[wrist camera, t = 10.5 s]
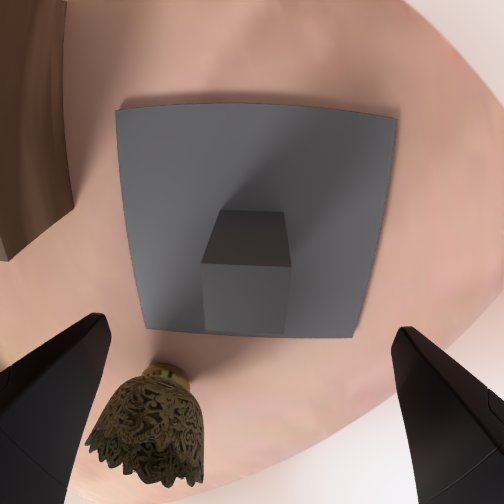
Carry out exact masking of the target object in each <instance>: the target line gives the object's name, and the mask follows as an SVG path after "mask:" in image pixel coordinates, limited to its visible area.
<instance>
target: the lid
mask: <svg viewBox="0 0 504 504" xmlns="http://www.w3.org/2000/svg"><path fill="white" fill-rule="evenodd" d="M115 112H116V133H117V149H118V161H119V172H120V182H121V191H122V200H123V208H124V215H125V222H126V229H127V236H128V242H129V248H130V254H131V260H132V265H133V270H134V276H135V281H136V286H137V291H138V295H139V300H140V305H141V309H142V313H143V318H144V322H145V326H146V328H147V329H156V330H166V331H176V332H187V333H199V334H213V335H228V336H247V337H272V338H352V337H353V334H354V331H355V328H356V324H357V321H358V317H359V314H360V311H361V307H362V303H363V300H364V296H365V292H366V289H367V285H368V281H369V277H370V273H371V269H372V265H373V261H374V256H375V252H376V247H377V243H378V238H379V234H380V229H381V224H382V219H383V214H384V208H385V203H386V197H387V191H388V185H389V179H390V172H391V166H392V158H393V151H394V143H395V134H396V125H397V119H394V118H389V117H384V116H378V115H372V114H365V113H359V112H352V111H344V110H336V109H327V108H318V107H307V106H294V105H279V104H254V103H203V104H179V105H163V106H151V107H140V108H131V109H122V110H115Z"/></svg>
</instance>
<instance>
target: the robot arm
mask: <svg viewBox="0 0 504 504" xmlns="http://www.w3.org/2000/svg"><path fill="white" fill-rule="evenodd" d="M110 343H111V331H110V328H109V325H108V322H107V319H106V316H105V315H104V314H102V313H91V314H89V315H87V316H86V317H84V318H83V319H81V320H80V321H78V322H76V323H75V324H73V325H72V326H70V327H69V328H67V329H65V330H64V331H62V332H61V333H59V334H58V335H56V336H55V337H53V338H52V339H50V340H48V341H47V342H45V343H44V344H42V345H41V346H39V347H38V348H36V349H35V350H33V351H32V352H30V353H29V354H27V355H26V356H24V357H23V358H21V359H20V360H18V361H17V362H15V363H14V364H12V366H9V367H8V368H6V369H5V370H3V371H2V372H0V504H64V500H65V496H66V492H67V487H68V483H69V480H70V476H71V472H72V468H73V465H74V461H75V458H76V454H77V451H78V447H79V444H80V441H81V438H82V434H83V431H84V428H85V425H86V422H87V419H88V416H89V413H90V410H91V407H92V404H93V401H94V398H95V395H96V392H97V390H98V387H99V384H100V381H101V377H102V374H103V370H104V366H105V362H106V358H107V354H108V350H109V347H110ZM391 356H392V362H393V368H394V375H395V382H396V389H397V395H398V399H399V403H400V408H401V412H402V416H403V420H404V425H405V429H406V434H407V439H408V444H409V449H410V453H411V459H412V464H413V470H414V476H415V482H416V488H417V495H418V502H419V504H504V401H503V400H502V399H501V398H500V397H498V396H497V395H496V394H495V393H494V392H493V391H491V390H490V389H487V387H486V386H485V385H484V384H483V383H482V382H480V381H479V380H478V379H477V378H476V377H474V376H473V375H472V374H471V373H470V372H468V371H467V370H466V369H465V368H464V367H462V366H461V365H460V364H459V363H457V362H456V361H455V360H454V359H453V358H451V357H450V356H449V355H448V354H446V353H445V352H444V351H443V350H441V349H440V348H439V347H438V346H436V345H435V344H434V343H433V342H431V341H430V340H429V339H428V338H426V337H425V336H424V335H423V334H421V333H420V332H419V331H418V330H416V329H415V328H414V327H412V326H406V327H400V328H399V330H398V332H397V334H396V337H395V339H394V341H393V344H392V347H391Z"/></svg>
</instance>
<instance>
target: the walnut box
mask: <svg viewBox="0 0 504 504" xmlns="http://www.w3.org/2000/svg"><path fill="white" fill-rule="evenodd" d="M66 3H67V2H65V1H62V0H0V261H7V262H9V261H10V260H11V259H12V258H13V257H14V256H15V255H17V254H18V253H19V252H20V251H21V250H22V249H24V248H25V247H26V246H27V245H28V244H30V243H31V242H32V241H33V240H34V239H36V238H37V237H38V236H39V235H40V234H42V233H43V232H44V231H45V230H47V229H48V228H49V227H51V226H52V225H53V224H54V223H56V222H57V221H58V220H60V219H61V218H62V217H64V216H65V215H66V214H68V213H69V212H70V211H72V210H73V209H74V205H73V199H72V193H71V186H70V179H69V172H68V164H67V155H66V146H65V135H64V121H63V100H62V55H63V35H64V22H65V12H66Z"/></svg>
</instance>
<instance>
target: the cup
mask: <svg viewBox="0 0 504 504" xmlns="http://www.w3.org/2000/svg"><path fill="white" fill-rule="evenodd" d="M88 445H90V449H89V453H91V452H92V451H95V450H97V449H98V453H99V461H100V462H103V461H104V460H107V464H108V467H109V468H115V467H117V466H119V465H120V464H121V463H122V462H123V474H124V475H130V474H132V473H133V472H135V471H136V472H137V473H138V476H139V478H140V479H141V480H142V481H143V482H144V483H145V484H152V483H156V482H159V481H161V482H162V484H163V485H164V486H165V487H166V488H170V487H171V486H173V483H174V481H175V478H176V477H179V478H181V480H182V479H184V477H186V480H187V483H188V485H189V486H191V487H193V486H194V484H195V482H199V483H201V484H202V483H203V477H204V425H203V416H202V412H201V409H200V406H199V404H198V402H197V400H196V399H195V398H194V396H193V395H192V394H191V393H190V384H189V380H188V378H187V376H186V375H185V374H184V373H183V372H182V371H181V370H179V369H178V368H176V367H174V366H171V365H168V364H153V365H151V366H149V367H148V368H146V369H145V370H144V371H143V373H142V375H141V376H139V377H135V378H132V379H130V380H128V381H126V382H125V383H123V384H122V385H121V386H120V387H119V388H118V389H117V390H116V391H115V393H114V394H113V396H112V397H111V398H110V400H109V402H108V403H107V405H106V407H105V408H104V410H103V412H102V414H101V415H100V417H99V419H98V421H97V423H96V425H95V426H94V428H93V430H92V432H91V434H90V435H89V437H88V439H87V440H86V442H85V446H88ZM133 470H135V471H133ZM132 471H133V472H132Z"/></svg>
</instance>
